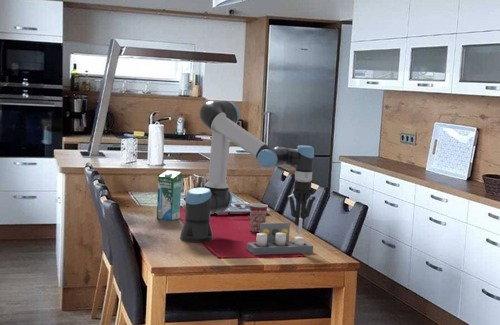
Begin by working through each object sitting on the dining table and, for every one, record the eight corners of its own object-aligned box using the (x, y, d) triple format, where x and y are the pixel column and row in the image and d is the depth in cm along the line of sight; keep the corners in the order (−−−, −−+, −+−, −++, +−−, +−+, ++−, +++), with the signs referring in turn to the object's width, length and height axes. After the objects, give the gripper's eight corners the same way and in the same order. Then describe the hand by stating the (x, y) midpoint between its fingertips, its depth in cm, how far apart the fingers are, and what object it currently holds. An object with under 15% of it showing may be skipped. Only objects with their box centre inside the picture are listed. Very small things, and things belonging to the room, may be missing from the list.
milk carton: (156, 218, 351) (158, 171, 348) (164, 215, 360) (166, 169, 357) (171, 220, 348) (173, 173, 345) (179, 218, 356) (181, 171, 353)
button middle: (277, 246, 293) (278, 235, 292) (273, 243, 297) (274, 232, 296) (287, 245, 294) (287, 234, 294) (283, 243, 299) (283, 232, 298)
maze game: (259, 208, 396) (259, 203, 396) (269, 215, 378) (270, 210, 378) (201, 209, 386) (201, 203, 385) (209, 216, 367) (210, 210, 367)
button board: (253, 257, 287) (254, 247, 287) (246, 251, 295) (247, 242, 295) (312, 254, 297) (313, 245, 296) (304, 249, 305) (304, 240, 305)
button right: (295, 250, 296) (296, 239, 296) (291, 247, 300) (292, 236, 300) (305, 249, 298) (306, 238, 297) (301, 247, 302) (301, 236, 301)
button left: (258, 246, 290) (259, 235, 289) (254, 244, 294) (255, 233, 293) (268, 246, 291) (268, 235, 291) (264, 243, 295) (265, 232, 295)
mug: (268, 233, 332) (269, 207, 331) (250, 233, 330) (252, 206, 329) (261, 227, 345) (263, 202, 343) (244, 227, 342) (246, 201, 341)
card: (259, 249, 300) (261, 223, 298) (259, 249, 301) (260, 223, 299) (288, 248, 304) (290, 223, 303) (287, 248, 305) (289, 222, 304)
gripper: (293, 181, 289) (288, 234, 293) (320, 182, 294) (315, 234, 297) (286, 178, 296) (282, 230, 300) (312, 179, 301) (308, 230, 304)
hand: (298, 232), depth 298 cm, fingers closed
